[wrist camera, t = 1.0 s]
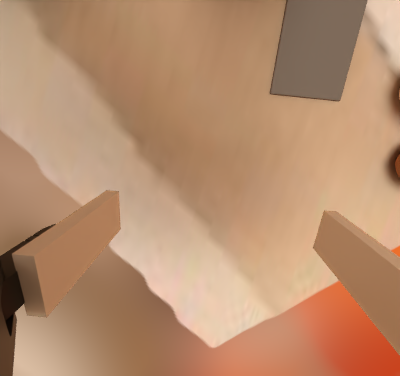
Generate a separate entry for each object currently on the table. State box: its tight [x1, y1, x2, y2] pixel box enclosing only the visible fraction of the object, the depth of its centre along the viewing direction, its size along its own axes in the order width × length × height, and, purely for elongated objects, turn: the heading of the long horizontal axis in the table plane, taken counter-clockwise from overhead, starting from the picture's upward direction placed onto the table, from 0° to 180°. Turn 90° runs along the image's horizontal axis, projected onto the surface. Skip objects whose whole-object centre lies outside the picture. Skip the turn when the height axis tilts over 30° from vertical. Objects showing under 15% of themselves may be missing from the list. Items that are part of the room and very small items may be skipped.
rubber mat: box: [270, 0, 367, 101], centre depth 33 cm, size 24×12×1 cm, turn 174°
